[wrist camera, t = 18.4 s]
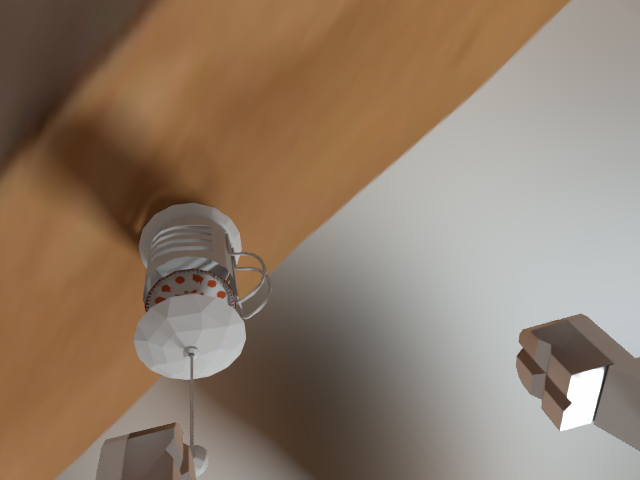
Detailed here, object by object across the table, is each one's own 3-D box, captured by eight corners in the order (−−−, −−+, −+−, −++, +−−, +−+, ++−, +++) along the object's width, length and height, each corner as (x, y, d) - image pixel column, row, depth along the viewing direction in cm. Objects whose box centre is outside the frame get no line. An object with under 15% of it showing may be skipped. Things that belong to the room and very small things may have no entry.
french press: (120, 221, 44) (55, 451, 23) (241, 183, 45) (285, 372, 24) (162, 301, 50) (140, 550, 28) (270, 266, 50) (327, 482, 29)
